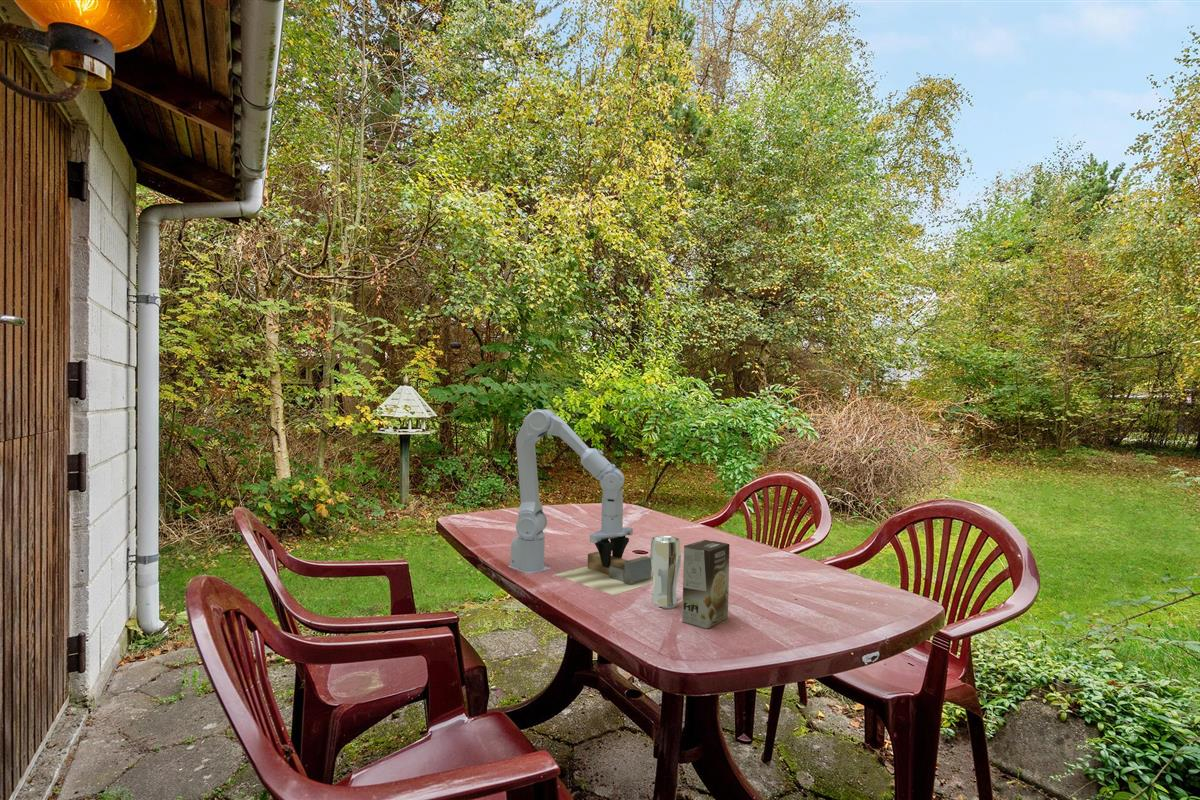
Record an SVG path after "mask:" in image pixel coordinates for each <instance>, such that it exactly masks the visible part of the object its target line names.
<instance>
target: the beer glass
mask: <svg viewBox="0 0 1200 800" xmlns="http://www.w3.org/2000/svg"><path fill="white" fill-rule="evenodd" d="M681 556H682V550H681V539H680V538H679V537H677V536H672V535H655V536H653V537H651V544H650V556H649V557H650V563H651V577H652V578H653V583H652V584H653V587H652V588H653V589H652V597H651V603H652V604H654V605H655V606H659V607H658V608H659V609H665V610H667V609H668V610H671V609H675V608H677V607H679V606H678V605H679V601H678V595H677V587H678V586H677V585H678V580H679V575H680V571H681V562H682V561H681V560H682V557H681ZM670 608H671V609H670Z"/></svg>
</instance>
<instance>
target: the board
mask: <svg viewBox="0 0 1200 800" xmlns="http://www.w3.org/2000/svg"><path fill="white" fill-rule="evenodd" d="M553 575H554V576H557V577H558V578H562V579H564V580H568V581H570V582H573V583H577V584H579V585H582V586H585V587H588V588H591V589H595V590H596V591H600V592H604V594H609V595H611V596H616V595H619V594H622V593H625V592H629V591H632V590H635V589H637V588H641V587H644V586H647V585H651V584H653V578H652V576H651V579H649V580H646V581H642V582H639V583H636V584H633V585H628V584H625V583H624V582H622V581H619V580H615V579H612V578H609V575H607V574H604V573H601V572H598V571H594V570H591V569H588V565H586V566H583V567H579V568H575V569H571V570H567V571H562V572H559V573H554V574H553Z"/></svg>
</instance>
